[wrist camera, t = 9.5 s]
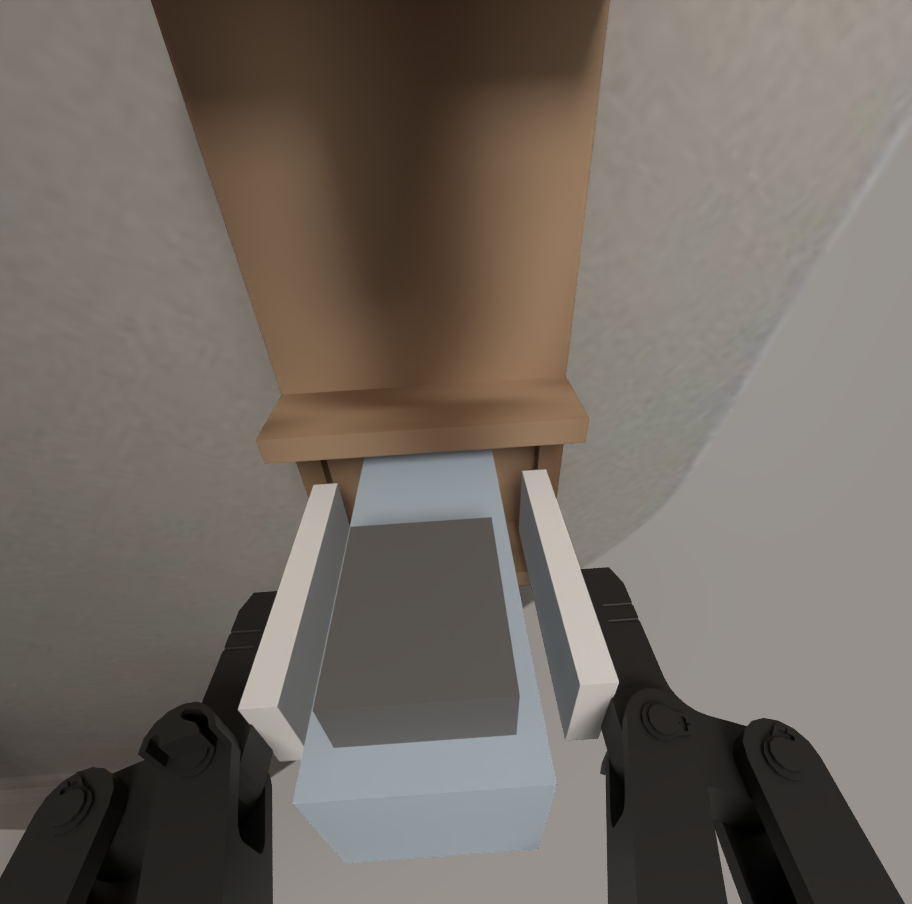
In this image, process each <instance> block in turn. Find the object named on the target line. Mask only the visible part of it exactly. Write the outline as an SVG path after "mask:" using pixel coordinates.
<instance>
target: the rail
mask: <svg viewBox="0 0 912 904" xmlns="http://www.w3.org/2000/svg"><path fill="white" fill-rule="evenodd" d="M151 2H152V5H153V8H154V11H155V14H156V18H157V21H158V24H159V27H160V30H161V33H162V36H163V39H164V42H165V45H166V48H167V51H168V54H169V57H170V60H171V63H172V66H173V69H174V72H175V75H176V78H177V81H178V84H179V87H180V90H181V93H182V96H183V99H184V102H185V105H186V108H187V111H188V114H189V117H190V120H191V123H192V126H193V129H194V132H195V135H196V138H197V141H198V144H199V147H200V150H201V153H202V156H203V159H204V162H205V165H206V168H207V171H208V174H209V177H210V180H211V183H212V186H213V189H214V192H215V195H216V198H217V201H218V204H219V207H220V210H221V213H222V216H223V219H224V222H225V225H226V228H227V231H228V234H229V237H230V240H231V243H232V246H233V249H234V252H235V255H236V258H237V261H238V264H239V267H240V270H241V273H242V276H243V279H244V282H245V285H246V288H247V291H248V294H249V297H250V301H251V304H252V307H253V310H254V313H255V316H256V319H257V322H258V325H259V328H260V331H261V334H262V337H263V340H264V343H265V346H266V349H267V352H268V355H269V358H270V361H271V364H272V367H273V370H274V373H275V376H276V379H277V382H278V385H279V388H280V391H281V394H282V395H281V397H280V399H279V401H278V402H277V404H276V406H275V408H274V409H273V411H272V413H271V414H270V416H269V418H268V420H267V421H266V423H265V425H264V427H263V428H262V430H261V432H260V433H259V435H258V437H257V439H256V443H257V445H258V448H259V450H260V452H261V455H262V457H263V460H264V462H265V464H267V463H282V462H296V463H297V466H298V469H299V472H300V474H301V477H302V480H303V483H304V486H305V489H306V492H307V495H308V498H309V497H310V494H311V491H312V488H313V485H319V484H334V483H338V486H339V490H340V494H341V497H342V501H343V504H344V508H345V511H346V515H347V518H348V522H349V525H350V524H351V519H352V514H353V510H354V505H355V500H356V495H357V490H358V486H359V481H360V476H361V471H362V466H363V462H364V457H373V456H388V455H403V454H418V453H433V452H448V451H463V450H478V449H492V452H493V457H494V463H495V468H496V473H497V478H498V483H499V489H500V494H501V499H502V504H503V509H504V514H505V520H506V525H507V530H508V535H509V540H510V546H511V551H512V556H513V561H514V566H515V571H516V577H517V582H518V586H523V585H531V583H530V579H529V574H528V570H527V565H526V561H525V556H524V552H523V547H522V543H521V538H520V534H519V518H520V501H521V483H522V471H528V470H543V469H546V471H547V474H548V477H549V479H550V482H551V485H552V488H553V491H554V494H555V497H556V499H557V491H558V483H559V475H560V467H561V459H562V451H563V444H569V443H584V442H586V436H587V430H588V423H589V417H588V415H587V413H586V411H585V410H584V408H583V406H582V404H581V402H580V401H579V399H578V397H577V395H576V393H575V392H574V390H573V388H572V386H571V385H570V383H569V381H568V379H567V377H566V371H567V363H568V354H569V346H570V337H571V329H572V320H573V311H574V303H575V294H576V286H577V277H578V269H579V260H580V252H581V243H582V235H583V226H584V217H585V209H586V200H587V192H588V183H589V175H590V166H591V158H592V149H593V141H594V132H595V123H596V115H597V106H598V98H599V89H600V81H601V72H602V64H603V55H604V47H605V38H606V29H607V21H608V12H609V4H610V0H151Z"/></svg>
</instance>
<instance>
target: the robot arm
mask: <svg viewBox="0 0 912 904" xmlns="http://www.w3.org/2000/svg"><path fill="white" fill-rule="evenodd" d="M349 529H350V525H349V522H348V518H347V515H346V511H345V508H344V504H343V501H342V497H341V494H340V490H339V486H338V483H334V484H319V485H313V488H312V491H311V494H310V497H309V500H308V503H307V506H306V509H305V512H304V515H303V518H302V521H301V524H300V527H299V530H298V533H297V536H296V539H295V541H294V544H293V547H292V550H291V553H290V556H289V559H288V562H287V565H286V568H285V571H284V574H283V577H282V580H281V583H280V586H279V589H278V591H273V592H259V593H253V595H252V596H251V597H250V598H249V599H248V601H247V602H246V603H245V604H244V605H243V607H242V608H241V609H240V610H239V612H238V615H237V617H236V620H235V622H234V625H233V627H232V630H231V634H230V635H229V637H228V640H227V642H226V645H225V650H224V651H223V652H222V654H221V657H220V659H219V662H218V664H217V667H216V669H215V672H214V674H213V677H212V679H211V682H210V684H209V687H208V689H207V692H206V694H205V696H204V699H203V701H202V703H200V702H192V703H186V704H182V705H180V706H178V707H176V708H175V709H173V710H171V711H169V712H168V713H166V714H165V715H164V716H163V717H162V718H161V719H159V720H158V721H157V722H156V723H155V724H154V725H153V727H152V728H151V730H150V731H149V732H148V734H147V735H146V736H145V738H144V740H143V742H142V745H141V748H140V750H139V753H138V755H140V756H141V757H142V758H144V759H145V760H144V761H141V762H139V763H137V764H134V765H132V766H129V767H127V768H125V769H122V770H120V771H117V772H115V773H113V774H112V773H110V772H109V771H107V770H106V769H104V768H94V767H92V768H89V769H86V770H83V771H80V772H77V773H76V774H74V775H73V776H71V777H69V778H68V779H66V780H65V781H63V782H62V783H61V784H60V785H59V786H58V787H57V788H55V789H54V790H53V791H52V792H51V793H50V794H49V795H48V796H47V797H46V799H45V800H44V802H43V803H42V804H41V806H40V807H39V809H38V810H37V812H36V813H35V815H34V816H33V818H32V820H31V822H30V824H29V826H28V827H27V829H26V831H25V833H24V835H23V837H22V839H21V840H20V842H19V844H18V846H17V848H16V850H15V852H14V853H13V855H12V857H11V859H10V861H9V863H8V864H7V866H6V868H5V870H4V872H3V874H2V875H1V878H0V904H273V888H272V887H273V885H272V884H273V881H272V880H273V877H272V784H271V779H270V775H269V774H268V769H269V765H270V761H271V758H272V754H274V755H275V756H276V758H277V759H278V760H279V761H280V762H281V761H294V760H301V759H302V754H303V749H304V745H305V740H306V735H307V730H308V725H309V721H310V716H311V711H312V706H313V701H314V697H315V692H316V687H317V682H318V677H319V673H320V668H321V663H322V658H323V653H324V649H325V644H326V639H327V634H328V629H329V625H330V620H331V615H332V610H333V605H334V601H335V596H336V591H337V586H338V581H339V577H340V572H341V567H342V562H343V557H344V553H345V548H346V543H347V538H348V533H349ZM519 534H520V538H521V543H522V547H523V552H524V556H525V561H526V565H527V570H528V574H529V579H530V583H531V588H532V592H533V597H534V601H535V605H536V610H537V615H538V619H539V624H540V628H541V632H542V637H543V642H544V646H545V651H546V655H547V660H548V664H549V669H550V674H551V678H552V683H553V687H554V691H555V696H556V701H557V705H558V710H559V714H560V719H561V723H562V728H563V732H564V737H565V741H571V740H585V739H598V737H599V734H600V732H601V730H602V733H603V736H604V740H605V744H606V747H607V752H606V755H605V757H604V760H603V762H602V766H601V772H600V773H601V774H603V775H605V774H606V818H607V871H608V904H728V903H727V897H726V892H725V885H724V880H723V874H722V868H721V862H720V857H719V852H718V845H717V839H716V834H715V831H716V833H717V836H718V839H719V842H720V844H721V847H722V850H723V852H724V855H725V858H726V861H727V864H728V866H729V869H730V872H731V874H732V877H733V880H734V883H735V886H736V888H737V891H738V894H739V897H740V899H741V902H742V904H905V903H904V901H903V900H902V898H901V896H900V895H899V893H898V891H897V889H896V888H895V886H894V884H893V882H892V881H891V879H890V877H889V875H888V874H887V872H886V870H885V868H884V867H883V865H882V863H881V861H880V860H879V858H878V856H877V855H876V853H875V851H874V849H873V848H872V846H871V844H870V842H869V841H868V839H867V837H866V835H865V834H864V832H863V830H862V829H861V827H860V825H859V823H858V822H857V820H856V818H855V816H854V815H853V813H852V811H851V810H850V808H849V806H848V804H847V802H846V801H845V799H844V797H843V795H842V794H841V792H840V790H839V788H838V787H837V785H836V783H835V782H834V780H833V778H832V776H831V775H830V773H829V771H828V769H827V768H826V766H825V764H824V762H823V761H822V759H821V757H820V756H819V754H818V753H817V752H816V750H815V749H814V748H813V746H812V745H811V744H810V742H809V741H808V740H806V739H805V738H804V737H803V736H802V735H801V734H799V733H798V732H797V731H796V730H795V729H793V728H791V727H789V726H787V725H786V724H783V723H782V722H780V721H777V720H772V719H766V718H762V719H758V720H754V721H752V722H751V723H750V724H749V725H748V726H744V725H740V724H737V723H733V722H729V721H726V720H722V719H718V718H715V717H711V716H708V715H705V714H702V713H700V712H698V711H696V710H694V709H692V708H691V707H689V706H687V705H686V704H685V703H684V702H682V700H680V699H679V698H678V697H677V696H676V695H675V694H674V692H673V691H672V690H671V689H670V687H669V686H668V684H667V682H666V680H665V678H664V676H663V674H662V672H661V669H660V667H659V665H658V662H657V660H656V658H655V655H654V653H653V651H652V648H651V646H650V644H649V641H648V639H647V637H646V634H645V632H644V630H643V627H642V625H641V623H640V621H639V620H638V616H637V613H636V611H635V609H634V606H633V605H632V603H631V599H630V597H629V595H628V592H627V590H626V588H625V585H624V583H623V582H622V581H621V580H620V579H619V578H618V577H617V576H616V574H615V573H614V572H613V571H612V570H611V569H610V568H608V567H607V568H593V569H580V567H579V564H578V561H577V558H576V555H575V552H574V549H573V546H572V544H571V541H570V538H569V535H568V532H567V529H566V526H565V523H564V520H563V517H562V514H561V511H560V509H559V506H558V503H557V500H556V497H555V494H554V491H553V488H552V485H551V482H550V479H549V477H548V474H547V471H546V469H543V470H528V471H522V483H521V501H520V518H519Z"/></svg>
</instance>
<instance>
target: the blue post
mask: <svg viewBox="0 0 912 904" xmlns="http://www.w3.org/2000/svg"><path fill="white" fill-rule="evenodd" d="M556 785H557V784H556V779H555V774H554V768H553V763H552V758H551V753H550V748H549V743H548V737H547V732H546V727H545V722H544V717H543V711H542V706H541V701H540V696H539V691H538V686H537V681H536V675H535V670H534V665H533V660H532V654H531V649H530V644H529V639H528V634H527V629H526V623H525V618H524V613H523V608H522V603H521V597H520V592H519V587H518V582H517V577H516V571H515V566H514V561H513V556H512V551H511V546H510V540H509V535H508V530H507V525H506V520H505V514H504V509H503V504H502V499H501V494H500V489H499V483H498V478H497V473H496V468H495V463H494V457H493V452H492V449H478V450H463V451H448V452H433V453H418V454H403V455H388V456H373V457H364V462H363V466H362V471H361V476H360V481H359V486H358V490H357V495H356V500H355V505H354V510H353V514H352V519H351V524H350V529H349V533H348V538H347V543H346V548H345V553H344V557H343V562H342V567H341V572H340V577H339V581H338V586H337V591H336V596H335V601H334V605H333V610H332V615H331V620H330V625H329V629H328V634H327V639H326V644H325V649H324V653H323V658H322V663H321V668H320V673H319V677H318V682H317V687H316V692H315V697H314V701H313V706H312V711H311V716H310V721H309V725H308V730H307V735H306V740H305V745H304V749H303V754H302V759H301V764H300V768H299V773H298V778H297V783H296V788H295V793H294V797H293V802H292V804H293V806H294V807H295V808H296V809H297V810H298V811H299V812H300V813H301V814H302V815H303V817H304V818H305V819H306V820H307V821H308V822H309V823H310V824H311V825H312V826H313V828H314V829H315V830H316V831H317V832H318V833H319V834H320V835H321V836H322V838H323V839H324V840H325V841H326V842H327V843H328V844H329V845H330V846H331V847H332V849H333V850H334V851H335V852H336V853H337V854H338V855H339V856H340V857H341V858H342V859H343V861H344V862H345V863H358V862H370V861H385V860H398V859H411V858H424V857H437V856H452V855H465V854H479V853H491V852H506V851H519V850H533V849H539V846H540V843H541V839H542V835H543V831H544V828H545V824H546V821H547V817H548V814H549V810H550V807H551V803H552V800H553V796H554V792H555V789H556Z"/></svg>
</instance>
